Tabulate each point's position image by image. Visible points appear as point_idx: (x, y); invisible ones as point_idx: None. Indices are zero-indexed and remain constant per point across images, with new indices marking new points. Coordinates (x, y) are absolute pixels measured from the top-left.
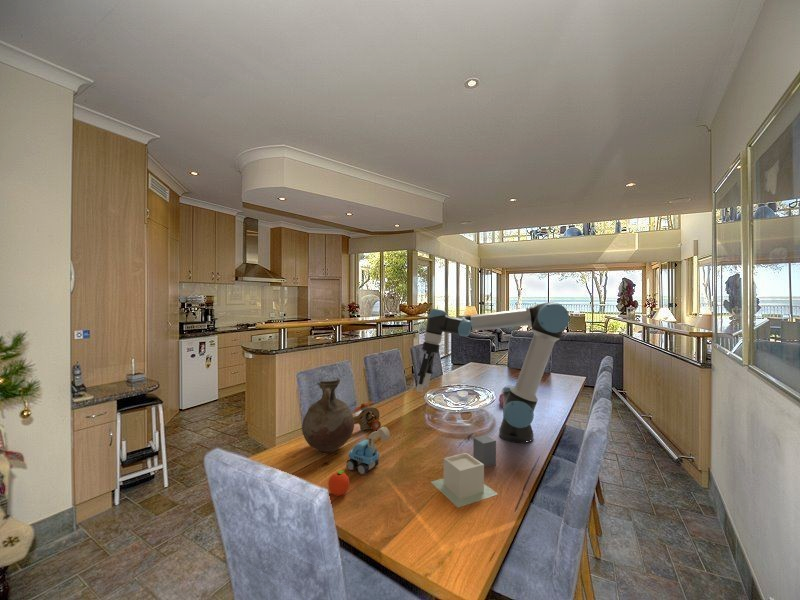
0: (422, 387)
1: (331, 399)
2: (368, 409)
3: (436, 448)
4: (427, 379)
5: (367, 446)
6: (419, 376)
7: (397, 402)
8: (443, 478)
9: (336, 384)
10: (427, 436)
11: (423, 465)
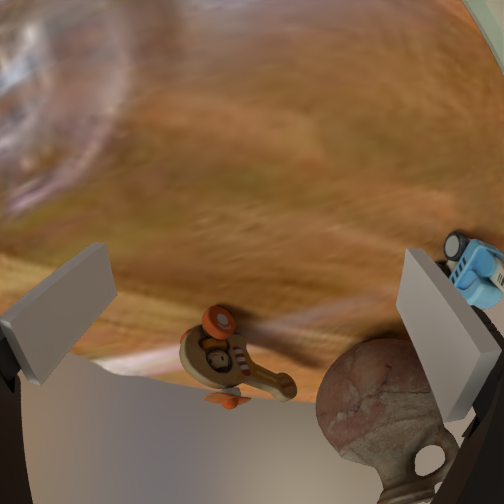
0: (439, 278)
1: (413, 454)
2: (220, 380)
3: (307, 72)
4: (63, 304)
5: (490, 282)
6: (464, 410)
7: (6, 310)
8: (499, 56)
9: (424, 489)
10: (201, 131)
11: (437, 107)
